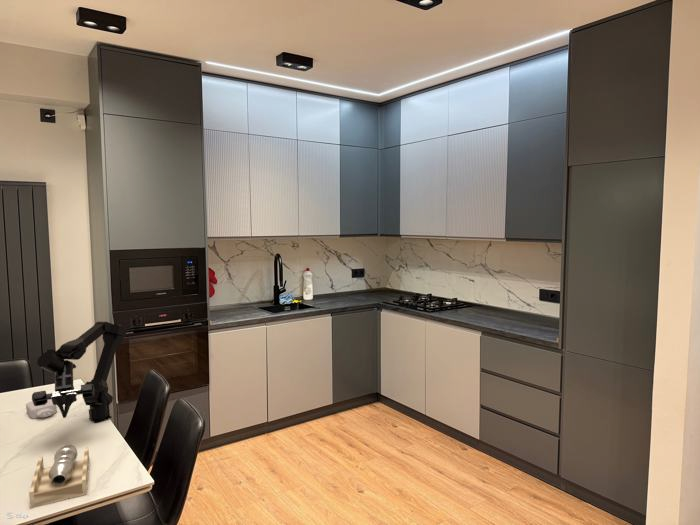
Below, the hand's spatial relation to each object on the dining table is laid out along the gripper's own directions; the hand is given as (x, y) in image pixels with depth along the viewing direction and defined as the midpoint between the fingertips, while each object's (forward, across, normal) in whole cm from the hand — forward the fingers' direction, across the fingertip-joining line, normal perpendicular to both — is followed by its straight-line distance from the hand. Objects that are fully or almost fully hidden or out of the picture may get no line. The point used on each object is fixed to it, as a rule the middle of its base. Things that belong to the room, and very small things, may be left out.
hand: (64, 417), depth 172 cm
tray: (+24, 0, +7) cm, 25 cm away
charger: (-20, +11, -39) cm, 45 cm away
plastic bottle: (+12, -1, 0) cm, 12 cm away
